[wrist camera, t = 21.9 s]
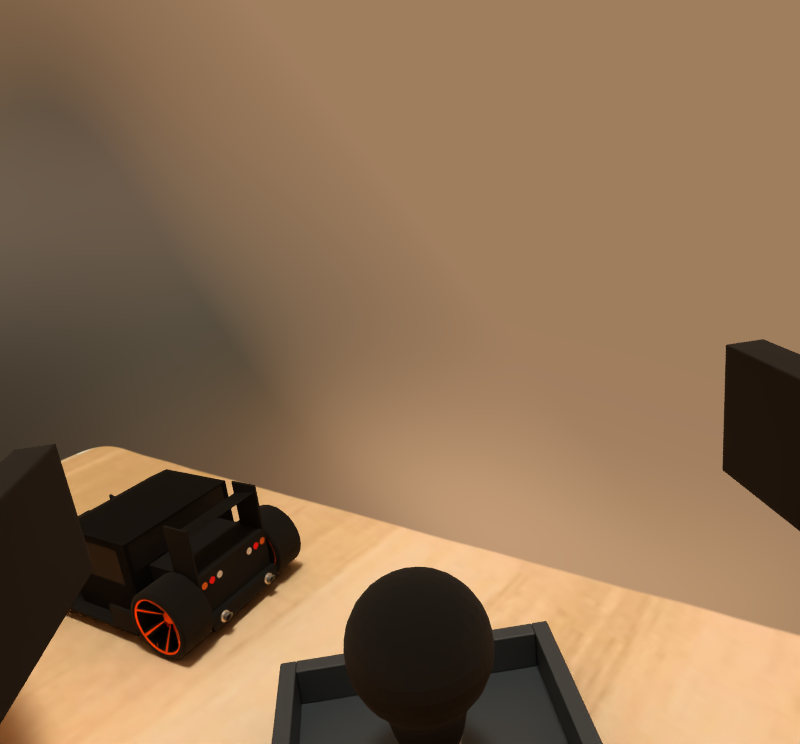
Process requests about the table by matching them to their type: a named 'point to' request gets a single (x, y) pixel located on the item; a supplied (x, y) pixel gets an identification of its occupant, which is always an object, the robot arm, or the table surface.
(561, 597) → the table surface
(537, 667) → the slate tray
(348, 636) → the light bulb
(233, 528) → the toy truck
